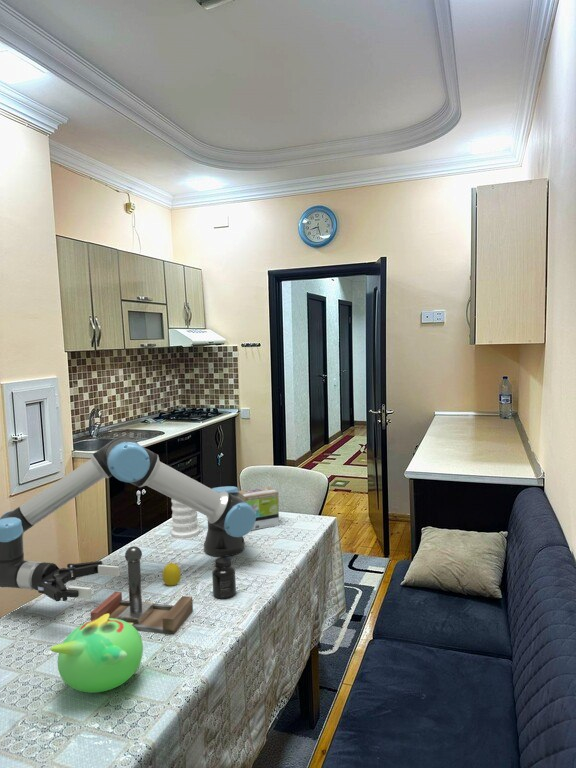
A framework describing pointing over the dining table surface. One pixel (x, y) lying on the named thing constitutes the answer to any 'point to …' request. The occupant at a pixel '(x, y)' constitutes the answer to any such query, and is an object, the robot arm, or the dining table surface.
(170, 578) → the lemon
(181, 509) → the decorative container
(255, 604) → the dining table surface
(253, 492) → the tea box
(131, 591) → the press handle
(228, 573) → the supplement bottle
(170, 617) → the press base
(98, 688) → the toy bird
